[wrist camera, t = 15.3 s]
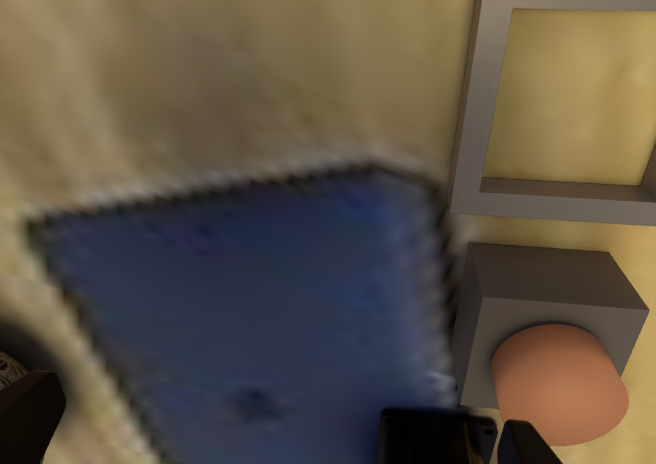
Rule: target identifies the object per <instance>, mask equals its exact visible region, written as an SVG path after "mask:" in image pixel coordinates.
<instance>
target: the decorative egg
mask: <svg viewBox="0 0 656 464" xmlns="http://www.w3.org/2000/svg"><path fill="white" fill-rule="evenodd" d="M28 373H29V372H28V371H27V370H26V369H25V368H24V367H23V366H22V365H21V364H20V363H19V362H18V361H16V360H15V359H13V358H12V357H11V356H9V355H7V354H5V353H3V352H2V351H0V390H1V389H3V388H5V387H6V386H8V385H10V384H11V383H13V382H15V381H16V380H18V379H20V378H21V377H23V376H25V375H26V374H28ZM44 455H45V454H44ZM43 460H44V456H43V458H42V460H41V463H40V464H42V463H43Z"/></svg>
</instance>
